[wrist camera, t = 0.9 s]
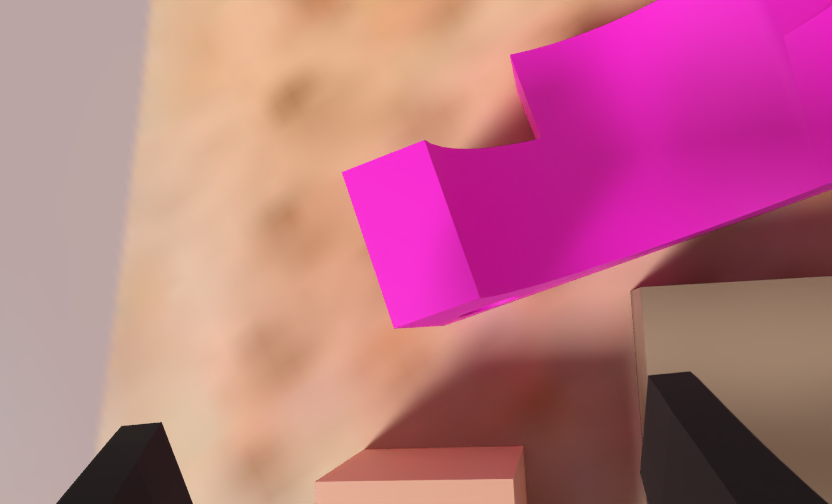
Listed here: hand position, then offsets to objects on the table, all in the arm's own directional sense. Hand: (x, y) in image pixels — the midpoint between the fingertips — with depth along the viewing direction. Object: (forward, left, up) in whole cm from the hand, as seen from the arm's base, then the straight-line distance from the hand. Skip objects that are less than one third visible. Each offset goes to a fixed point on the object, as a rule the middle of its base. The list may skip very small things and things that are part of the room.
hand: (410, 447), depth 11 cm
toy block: (+7, -5, -13) cm, 15 cm away
